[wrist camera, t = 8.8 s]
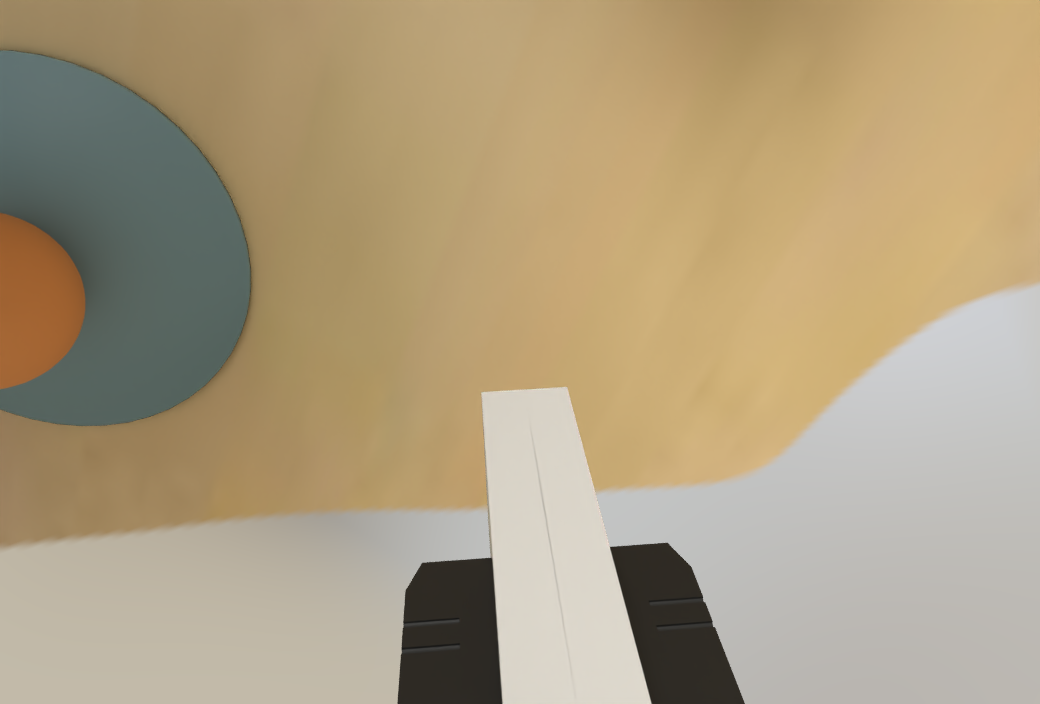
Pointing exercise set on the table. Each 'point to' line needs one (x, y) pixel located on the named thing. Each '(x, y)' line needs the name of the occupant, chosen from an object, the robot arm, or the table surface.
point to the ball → (35, 302)
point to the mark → (121, 242)
